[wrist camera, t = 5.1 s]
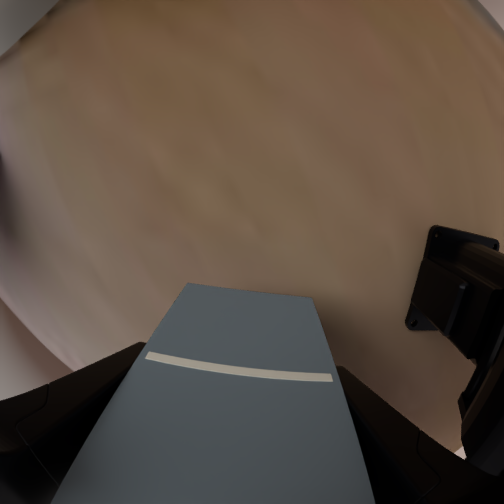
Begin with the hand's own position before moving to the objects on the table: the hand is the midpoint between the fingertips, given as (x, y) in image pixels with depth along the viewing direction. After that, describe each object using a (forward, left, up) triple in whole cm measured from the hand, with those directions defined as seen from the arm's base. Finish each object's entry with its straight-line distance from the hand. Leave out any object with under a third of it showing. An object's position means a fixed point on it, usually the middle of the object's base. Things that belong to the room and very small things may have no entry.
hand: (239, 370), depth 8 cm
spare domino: (0, 0, -4) cm, 4 cm away
